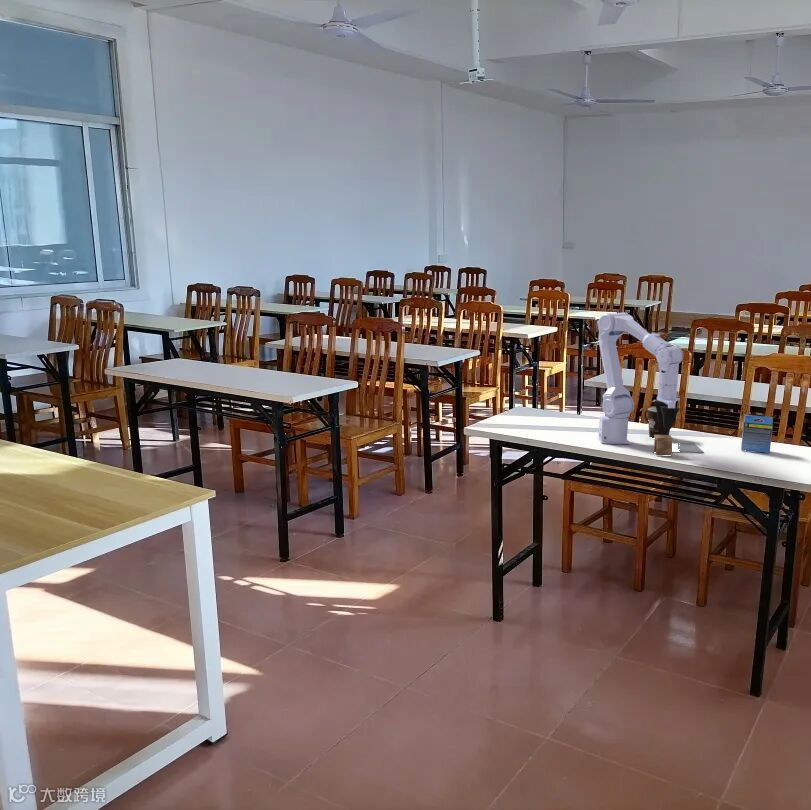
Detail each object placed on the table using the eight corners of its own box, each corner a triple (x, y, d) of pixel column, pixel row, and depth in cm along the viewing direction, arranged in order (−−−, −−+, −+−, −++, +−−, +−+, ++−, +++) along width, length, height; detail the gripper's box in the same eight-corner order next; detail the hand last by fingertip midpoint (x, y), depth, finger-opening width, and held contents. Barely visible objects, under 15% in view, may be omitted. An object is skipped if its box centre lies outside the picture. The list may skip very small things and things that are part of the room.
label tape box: (769, 451, 274) (773, 414, 272) (769, 454, 271) (773, 417, 268) (740, 448, 278) (744, 412, 275) (740, 451, 274) (744, 414, 272)
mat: (666, 452, 271) (666, 451, 271) (658, 443, 283) (658, 442, 283) (703, 453, 271) (703, 452, 271) (694, 444, 282) (694, 443, 282)
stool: (655, 456, 267) (657, 437, 265) (652, 452, 271) (654, 434, 270) (671, 456, 266) (673, 438, 265) (668, 453, 271) (669, 435, 269)
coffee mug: (674, 440, 287) (676, 412, 285) (649, 440, 287) (651, 412, 285) (665, 433, 298) (667, 406, 296) (641, 432, 299) (642, 405, 297)
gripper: (686, 388, 257) (683, 431, 260) (674, 380, 271) (671, 421, 274) (663, 388, 257) (660, 430, 260) (653, 380, 272) (650, 420, 274)
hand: (664, 425), depth 267 cm, fingers open, 7 cm apart
